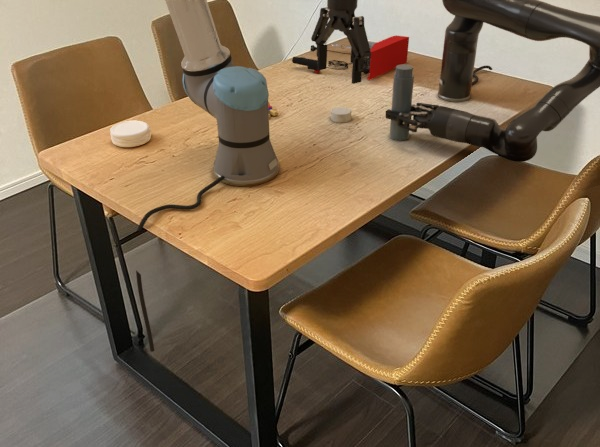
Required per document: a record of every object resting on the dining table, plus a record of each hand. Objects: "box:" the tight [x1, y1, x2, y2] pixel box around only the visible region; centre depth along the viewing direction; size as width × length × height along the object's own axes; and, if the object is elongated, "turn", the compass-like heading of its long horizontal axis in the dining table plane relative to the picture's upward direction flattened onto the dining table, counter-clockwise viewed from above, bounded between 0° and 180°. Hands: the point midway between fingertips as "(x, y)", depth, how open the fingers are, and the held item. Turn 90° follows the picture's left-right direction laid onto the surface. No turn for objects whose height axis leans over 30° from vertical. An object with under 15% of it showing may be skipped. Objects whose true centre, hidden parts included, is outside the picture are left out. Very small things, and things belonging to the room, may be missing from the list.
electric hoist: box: [291, 35, 410, 81], centre depth 208 cm, size 10×27×30 cm
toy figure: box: [268, 101, 278, 119], centre depth 176 cm, size 2×7×12 cm
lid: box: [330, 106, 352, 123], centre depth 171 cm, size 6×6×2 cm
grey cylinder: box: [389, 63, 415, 141], centre depth 156 cm, size 5×5×18 cm
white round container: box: [109, 119, 152, 148], centre depth 160 cm, size 10×10×4 cm
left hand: (338, 75), depth 164 cm, fingers open, 13 cm apart
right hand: (391, 110), depth 159 cm, fingers closed on grey cylinder, 5 cm apart
